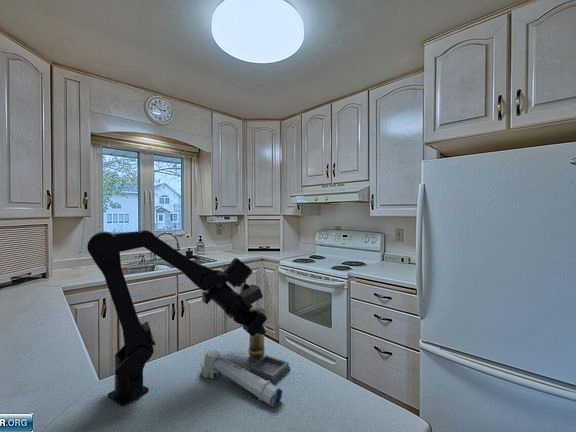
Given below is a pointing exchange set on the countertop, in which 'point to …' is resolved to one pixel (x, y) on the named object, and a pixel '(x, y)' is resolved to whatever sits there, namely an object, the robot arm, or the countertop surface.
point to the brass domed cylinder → (257, 340)
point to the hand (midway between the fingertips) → (261, 330)
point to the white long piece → (240, 377)
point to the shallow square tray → (270, 368)
